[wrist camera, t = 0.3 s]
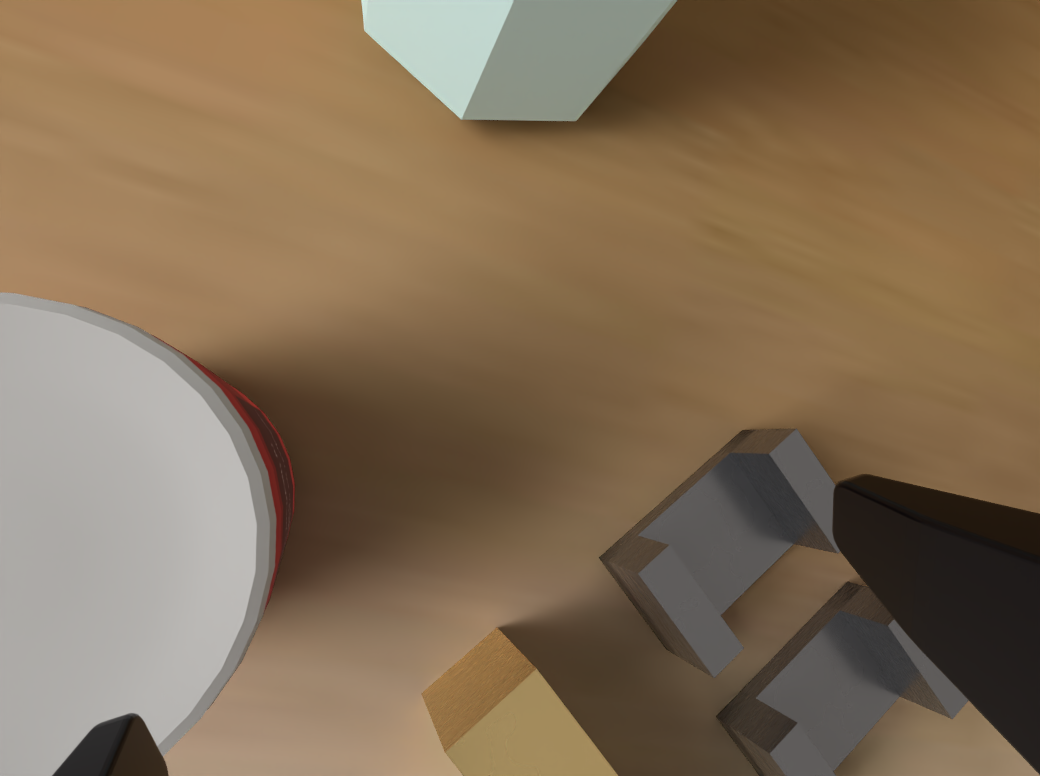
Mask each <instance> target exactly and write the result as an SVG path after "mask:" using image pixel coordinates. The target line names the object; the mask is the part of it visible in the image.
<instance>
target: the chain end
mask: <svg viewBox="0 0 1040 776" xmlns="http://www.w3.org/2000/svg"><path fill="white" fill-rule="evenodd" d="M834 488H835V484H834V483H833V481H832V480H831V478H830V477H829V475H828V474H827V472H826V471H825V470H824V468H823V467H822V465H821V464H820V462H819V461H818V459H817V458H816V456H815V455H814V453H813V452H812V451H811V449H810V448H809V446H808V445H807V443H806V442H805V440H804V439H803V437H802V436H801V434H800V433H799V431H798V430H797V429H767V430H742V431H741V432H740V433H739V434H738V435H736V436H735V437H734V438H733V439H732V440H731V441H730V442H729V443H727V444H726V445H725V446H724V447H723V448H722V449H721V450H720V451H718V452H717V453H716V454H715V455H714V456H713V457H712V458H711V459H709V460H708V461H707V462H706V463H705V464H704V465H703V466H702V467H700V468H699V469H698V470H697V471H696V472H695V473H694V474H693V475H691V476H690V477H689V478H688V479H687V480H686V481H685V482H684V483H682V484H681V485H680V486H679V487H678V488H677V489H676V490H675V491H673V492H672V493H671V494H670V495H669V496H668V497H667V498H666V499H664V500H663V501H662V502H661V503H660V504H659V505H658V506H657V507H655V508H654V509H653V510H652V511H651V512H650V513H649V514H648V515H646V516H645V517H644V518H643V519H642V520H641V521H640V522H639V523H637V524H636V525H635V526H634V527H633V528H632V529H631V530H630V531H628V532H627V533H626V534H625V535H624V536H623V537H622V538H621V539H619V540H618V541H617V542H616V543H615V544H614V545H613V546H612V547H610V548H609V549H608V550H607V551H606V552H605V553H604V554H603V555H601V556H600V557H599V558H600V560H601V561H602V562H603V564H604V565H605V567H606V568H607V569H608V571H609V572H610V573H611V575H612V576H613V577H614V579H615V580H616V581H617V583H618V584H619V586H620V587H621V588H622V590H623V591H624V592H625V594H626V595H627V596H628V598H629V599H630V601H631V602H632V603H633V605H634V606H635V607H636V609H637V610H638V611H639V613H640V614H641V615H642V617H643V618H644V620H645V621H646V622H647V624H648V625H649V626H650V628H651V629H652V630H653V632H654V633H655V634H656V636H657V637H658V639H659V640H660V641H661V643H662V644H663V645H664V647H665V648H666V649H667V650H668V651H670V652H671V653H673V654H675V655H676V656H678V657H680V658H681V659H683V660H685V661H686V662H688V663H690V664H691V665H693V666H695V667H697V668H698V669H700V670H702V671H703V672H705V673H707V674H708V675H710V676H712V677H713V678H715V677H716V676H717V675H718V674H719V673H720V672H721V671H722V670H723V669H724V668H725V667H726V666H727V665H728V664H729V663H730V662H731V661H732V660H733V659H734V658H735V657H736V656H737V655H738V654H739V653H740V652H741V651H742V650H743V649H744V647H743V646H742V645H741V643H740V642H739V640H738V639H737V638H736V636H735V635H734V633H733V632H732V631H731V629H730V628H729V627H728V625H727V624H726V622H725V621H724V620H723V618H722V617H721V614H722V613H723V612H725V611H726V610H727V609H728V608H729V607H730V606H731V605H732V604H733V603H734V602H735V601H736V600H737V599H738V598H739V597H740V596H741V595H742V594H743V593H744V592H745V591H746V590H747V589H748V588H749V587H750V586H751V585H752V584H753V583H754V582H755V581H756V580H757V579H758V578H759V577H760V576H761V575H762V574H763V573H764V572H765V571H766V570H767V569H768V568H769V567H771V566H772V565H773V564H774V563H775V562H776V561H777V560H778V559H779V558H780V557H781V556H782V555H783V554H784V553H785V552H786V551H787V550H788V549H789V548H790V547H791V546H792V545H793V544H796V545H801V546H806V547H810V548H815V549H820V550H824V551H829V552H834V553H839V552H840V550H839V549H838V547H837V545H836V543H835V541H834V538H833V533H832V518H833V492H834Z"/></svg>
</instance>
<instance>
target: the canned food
mask: <svg viewBox="0 0 1040 776" xmlns="http://www.w3.org/2000/svg"><path fill="white" fill-rule="evenodd" d="M294 496H295V483H294V477H293V472H292V467H291V462H290V458H289V455H288V453H287V451H286V448H285V446H284V444H283V441H282V439H281V437H280V434H279V433H278V432H277V430H276V429H275V427H274V426H273V425H272V423H271V422H270V420H269V419H268V418H267V416H266V415H265V413H264V412H262V411H261V410H260V409H259V408H258V407H257V406H256V405H255V404H254V403H253V402H252V401H250V400H249V399H248V398H247V397H246V396H245V395H244V394H242V393H241V392H240V391H238V390H237V389H235V388H234V387H232V386H231V385H230V384H228V383H227V382H225V381H224V380H222V379H221V378H220V377H218V376H217V375H215V374H214V373H212V372H211V371H210V370H208V369H207V368H205V367H204V366H202V365H201V364H200V363H198V362H197V361H195V360H193V359H192V358H190V357H188V356H187V355H185V354H184V353H182V352H180V351H179V350H177V349H175V348H174V347H172V346H170V345H169V344H167V343H165V342H164V341H162V340H160V339H159V338H157V337H155V336H153V335H150V334H149V333H147V332H146V331H144V330H142V329H141V328H139V327H136V326H134V325H131V324H128V323H126V322H123V321H121V320H118V319H115V318H113V317H110V316H107V315H105V314H102V313H99V312H97V311H94V310H92V309H89V308H86V307H81V306H76V305H72V304H67V303H62V302H57V301H51V300H46V299H41V298H36V297H31V296H26V295H20V294H15V293H0V776H52V775H53V774H54V772H55V771H56V770H57V769H58V768H59V767H60V765H61V764H62V763H63V762H64V761H65V759H66V758H67V757H68V756H69V755H70V754H71V752H72V751H73V750H74V749H75V748H76V747H77V745H78V744H79V743H80V742H81V741H82V739H83V738H84V737H85V736H86V735H87V734H88V732H89V731H90V730H91V729H92V728H93V727H94V726H96V725H97V724H99V723H101V722H104V721H107V720H110V719H113V718H116V717H119V716H122V715H125V714H128V713H136V714H138V715H139V716H140V717H141V718H142V719H143V720H144V722H145V724H146V726H147V728H148V730H149V731H150V733H151V735H152V737H153V739H154V741H155V743H156V745H157V747H158V749H159V750H160V752H161V754H162V756H164V755H165V754H166V753H167V752H168V751H169V750H170V749H171V748H172V747H173V746H174V745H175V744H176V743H177V742H178V741H179V740H180V739H181V738H182V737H183V736H184V735H185V734H186V733H187V732H188V731H189V730H190V729H191V728H192V727H193V726H194V725H195V724H196V723H197V722H198V721H199V720H200V719H201V717H202V716H203V714H204V713H205V712H206V711H207V710H208V709H209V708H210V706H211V705H212V704H213V702H214V701H215V699H216V698H217V696H218V695H219V694H220V692H221V691H222V689H223V688H224V686H225V685H226V684H227V682H228V681H229V679H230V678H231V676H232V675H233V674H234V672H235V671H236V669H237V668H238V666H239V665H240V664H241V662H242V660H243V658H244V656H245V654H246V651H247V649H248V647H249V645H250V643H251V641H252V638H253V636H254V634H255V632H256V630H257V627H258V625H259V623H260V621H261V619H262V617H263V614H264V611H265V609H266V607H267V604H268V602H269V600H270V597H271V593H272V590H273V586H274V583H275V580H276V576H277V573H278V569H279V566H280V562H281V559H282V555H283V552H284V548H285V545H286V542H287V538H288V534H289V530H290V526H291V522H292V517H293V513H294Z"/></svg>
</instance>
